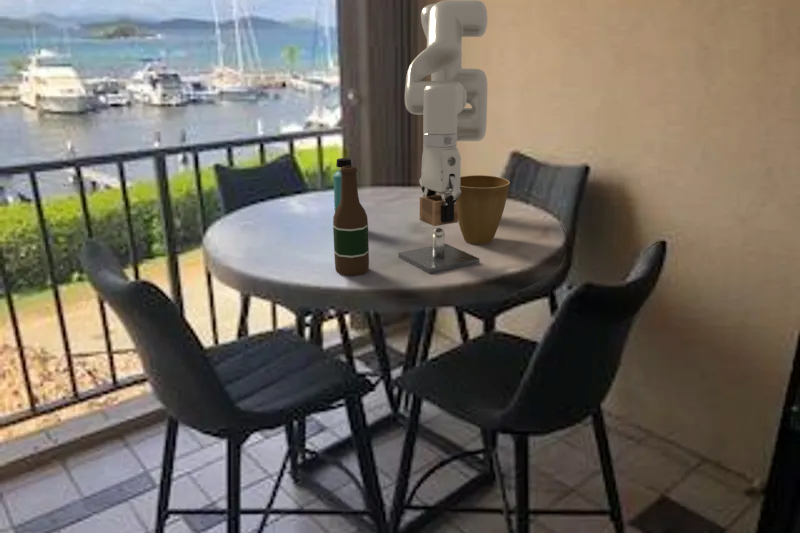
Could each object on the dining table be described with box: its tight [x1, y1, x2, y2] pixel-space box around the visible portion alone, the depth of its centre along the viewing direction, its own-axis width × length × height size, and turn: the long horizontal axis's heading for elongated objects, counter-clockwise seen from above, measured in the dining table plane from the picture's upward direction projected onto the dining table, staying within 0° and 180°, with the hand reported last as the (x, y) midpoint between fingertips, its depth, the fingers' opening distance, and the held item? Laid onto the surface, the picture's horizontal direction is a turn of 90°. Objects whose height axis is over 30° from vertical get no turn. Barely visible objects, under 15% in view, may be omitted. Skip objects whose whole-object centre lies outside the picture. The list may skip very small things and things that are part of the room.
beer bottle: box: [332, 165, 370, 277], centre depth 140 cm, size 8×8×24 cm
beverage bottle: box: [332, 157, 353, 212], centre depth 173 cm, size 6×7×20 cm
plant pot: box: [457, 174, 511, 245], centre depth 163 cm, size 15×15×16 cm
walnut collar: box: [419, 194, 459, 227], centre depth 146 cm, size 6×6×6 cm
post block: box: [397, 227, 481, 275], centre depth 149 cm, size 14×14×8 cm
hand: (438, 217), depth 147 cm, fingers closed on walnut collar, 6 cm apart
